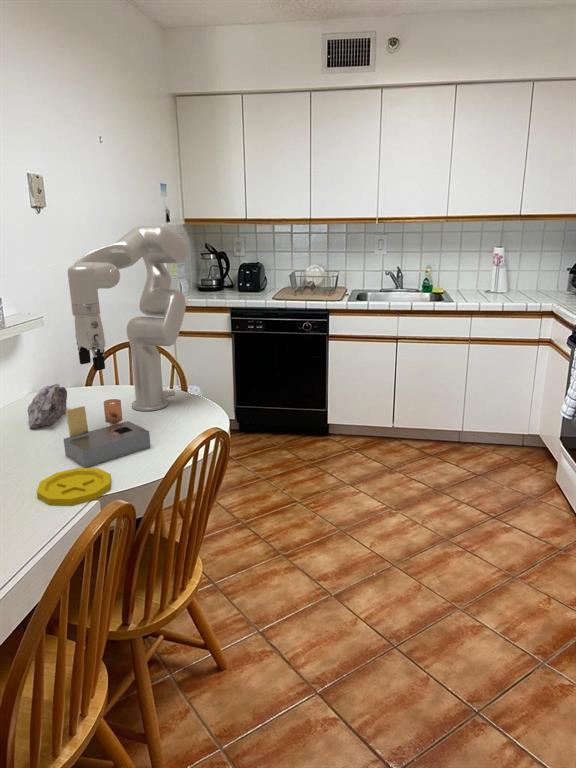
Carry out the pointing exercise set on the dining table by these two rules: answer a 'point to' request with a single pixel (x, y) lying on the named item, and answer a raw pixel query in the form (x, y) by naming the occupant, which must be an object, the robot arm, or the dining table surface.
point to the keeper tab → (77, 421)
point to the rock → (47, 406)
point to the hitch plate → (106, 443)
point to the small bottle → (113, 411)
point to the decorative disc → (74, 486)
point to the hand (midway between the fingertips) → (92, 366)
